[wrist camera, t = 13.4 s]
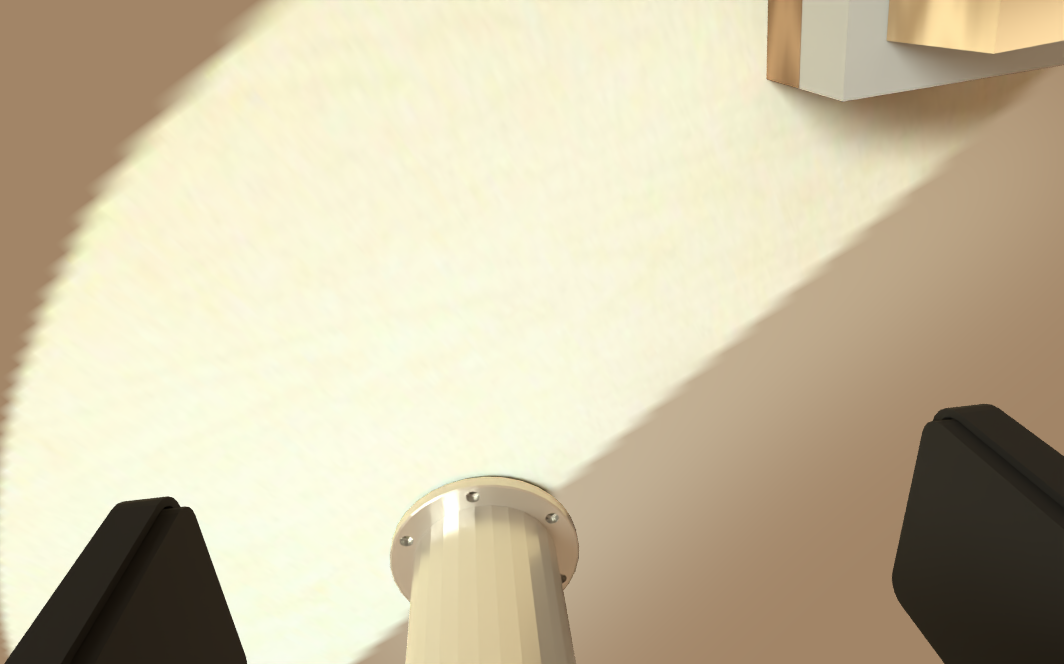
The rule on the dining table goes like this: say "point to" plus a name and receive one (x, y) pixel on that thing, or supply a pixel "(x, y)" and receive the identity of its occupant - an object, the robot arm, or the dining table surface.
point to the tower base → (784, 41)
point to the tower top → (891, 54)
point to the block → (976, 23)
